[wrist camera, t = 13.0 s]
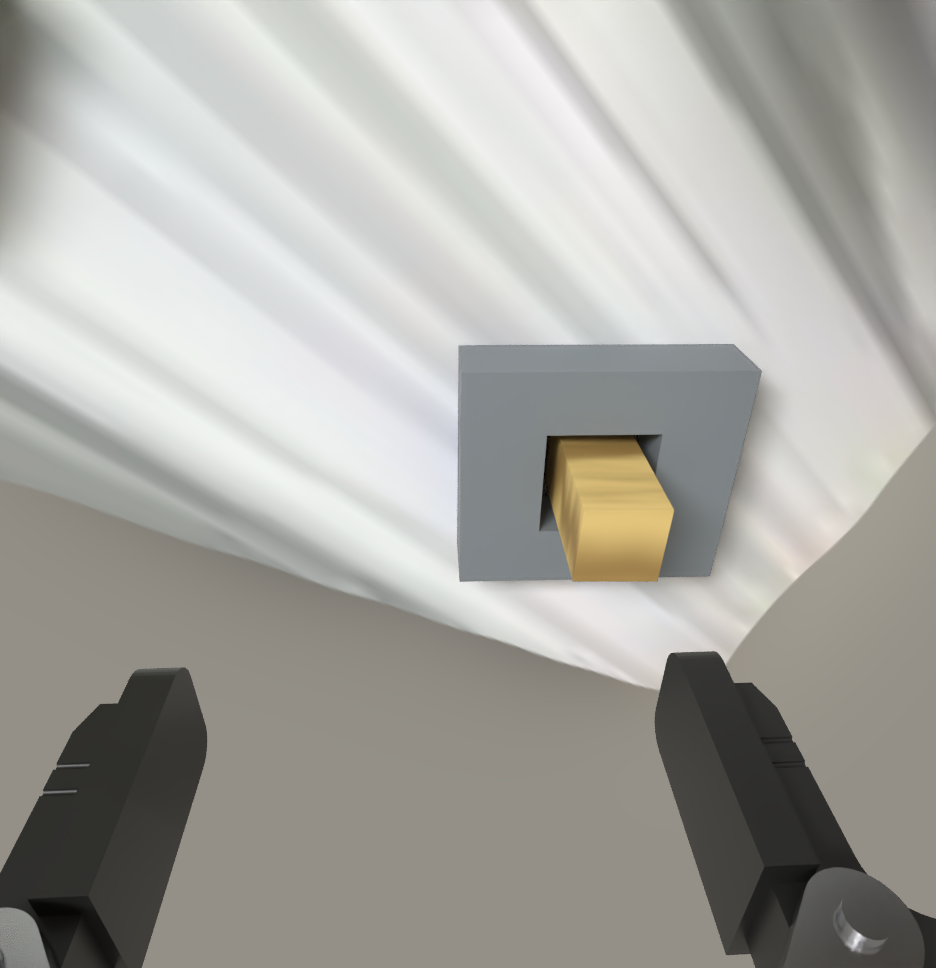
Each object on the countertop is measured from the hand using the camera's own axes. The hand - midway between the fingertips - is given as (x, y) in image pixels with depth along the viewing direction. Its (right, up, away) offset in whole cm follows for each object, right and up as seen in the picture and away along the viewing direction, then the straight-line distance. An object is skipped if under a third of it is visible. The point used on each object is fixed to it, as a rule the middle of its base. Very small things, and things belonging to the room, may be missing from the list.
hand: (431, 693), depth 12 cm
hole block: (+8, +6, +32) cm, 33 cm away
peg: (+8, +6, +32) cm, 33 cm away
